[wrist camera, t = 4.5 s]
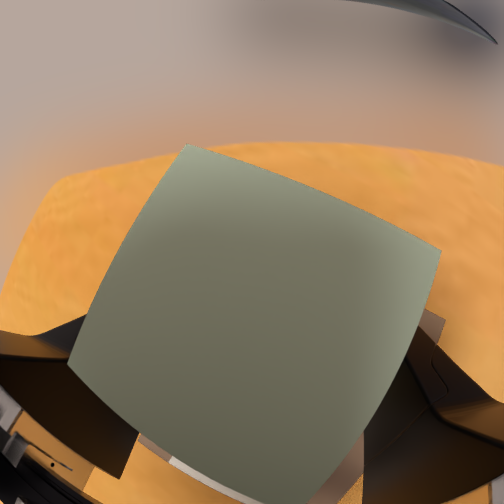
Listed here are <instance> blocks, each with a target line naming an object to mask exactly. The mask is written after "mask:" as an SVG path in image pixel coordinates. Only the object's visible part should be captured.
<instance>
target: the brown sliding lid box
mask: <svg viewBox="0 0 504 504" xmlns="http://www.w3.org/2000/svg"><path fill="white" fill-rule="evenodd" d="M445 321H446V320H445V319H443V318H441V317H439V316H437V315H435V314H434V313H432V312H430V311H428V310H426V309H424V310H423V313H422V316H421V318H420V321H419V324H418V325H419V326H420V327H421V328H422V329H423V330H424V331H425V332H426V333H427V334H428V335H429V337H430V338H431V339H432V340H433V341H434V342H435V343H436V345H437V343H438V340H439V338H440V335H441V332H442V330H443V327H444V324H445ZM138 441H139V442H140V443H141V444H143V445H144V446H145V447H147V448H148V449H149V450H151V451H152V452H154V453H155V454H156V455H158V456H159V457H161V458H162V459H164V460H165V461H167V462H168V463H170V464H171V465H173V466H174V467H176V468H177V469H179V470H181V471H182V472H184V473H186V474H187V475H189V476H191V477H192V478H194V479H196V480H198V481H199V482H201V483H203V484H205V485H207V486H209V487H211V488H212V489H214V490H216V491H218V492H220V493H222V494H224V495H226V496H229V497H231V498H233V499H235V500H237V501H240V502H242V503H244V504H264V503H261V502H259V501H256V500H254V499H252V498H249V497H247V496H245V495H242V494H240V493H238V492H236V491H234V490H232V489H230V488H228V487H225V486H223V485H222V484H220V483H218V482H216V481H214V480H212V479H210V478H208V477H206V476H205V475H203V474H201V473H199V472H198V471H196V470H194V469H192V468H191V467H189V466H187V465H186V464H184V463H183V462H181V461H179V460H178V459H176V458H175V457H173V456H172V455H170V454H169V453H167V452H166V451H164V450H163V449H161V448H160V447H159V446H157V445H156V444H154V443H153V442H152V441H150V440H149V439H148V438H146V437H145V436H144V435H142V434H141V435H140V437H139V439H138ZM363 472H364V431H363V432H362V434H361V435H360V437H359V438H358V440H357V441H356V443H355V444H354V446H353V447H352V448H351V450H350V451H349V452H348V454H347V455H346V457H345V458H344V459H343V461H342V462H341V463H340V464H339V466H338V467H337V468H336V470H335V471H334V472H333V473H332V475H331V476H330V477H329V478H328V479H327V481H326V482H325V483H324V484H323V485H322V486H321V488H320V489H319V490H318V491H317V492H316V493H315V494H314V495H313V497H312V498H311V499H310V500H309V501H308V502H307V503H306V504H337V502H338V501H339V500H340V499H341V498H342V497H343V496H344V495H345V494H346V493H347V491H348V490H349V489H350V488H351V487H352V486H353V485H354V483H355V482H356V481H357V480H358V479H359V477H360V476H361V475H362V474H363Z"/></svg>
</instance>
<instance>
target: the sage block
mask: <svg viewBox="0 0 504 504" xmlns="http://www.w3.org/2000/svg"><path fill="white" fill-rule="evenodd" d="M440 255H441V250H439V249H437V248H436V247H434V246H432V245H430V244H429V243H427V242H425V241H423V240H421V239H419V238H418V237H416V236H414V235H412V234H410V233H408V232H406V231H404V230H402V229H400V228H398V227H397V226H395V225H393V224H391V223H389V222H387V221H385V220H383V219H381V218H378V217H376V216H374V215H372V214H370V213H368V212H366V211H364V210H362V209H360V208H357V207H355V206H353V205H351V204H349V203H346V202H344V201H342V200H340V199H337V198H335V197H333V196H331V195H328V194H326V193H324V192H321V191H319V190H316V189H314V188H312V187H309V186H307V185H304V184H302V183H299V182H297V181H294V180H292V179H289V178H287V177H284V176H281V175H279V174H276V173H273V172H271V171H268V170H265V169H263V168H260V167H257V166H254V165H251V164H249V163H246V162H243V161H240V160H237V159H234V158H231V157H228V156H225V155H222V154H219V153H216V152H212V151H209V150H206V149H203V148H199V147H196V146H193V145H189V144H186V146H185V147H184V148H183V149H182V151H181V152H180V153H179V155H178V156H177V158H176V159H175V160H174V162H173V163H172V165H171V166H170V167H169V169H168V170H167V172H166V173H165V175H164V176H163V178H162V179H161V181H160V182H159V184H158V185H157V187H156V188H155V190H154V191H153V193H152V194H151V196H150V197H149V199H148V201H147V202H146V204H145V205H144V207H143V208H142V210H141V212H140V213H139V215H138V217H137V218H136V220H135V222H134V223H133V225H132V227H131V228H130V230H129V232H128V234H127V235H126V237H125V239H124V241H123V242H122V244H121V246H120V248H119V250H118V252H117V253H116V255H115V257H114V259H113V261H112V263H111V265H110V267H109V269H108V271H107V273H106V275H105V277H104V279H103V281H102V283H101V285H100V287H99V289H98V291H97V293H96V295H95V297H94V299H93V302H92V304H91V306H90V308H89V310H88V313H87V315H86V317H85V320H84V322H83V324H82V327H81V329H80V332H79V334H78V337H77V339H76V342H75V344H74V347H73V350H72V352H71V355H70V358H69V360H68V363H67V364H68V366H69V367H70V368H71V369H72V370H73V371H74V372H75V373H76V374H77V375H78V377H79V378H80V379H81V380H82V381H83V382H84V383H85V384H86V385H87V386H88V387H89V388H90V389H91V390H92V391H93V392H94V393H95V394H96V395H97V396H98V397H99V398H100V399H101V400H102V401H103V402H105V403H106V404H107V405H108V406H109V407H110V408H111V409H112V410H113V411H114V412H116V413H117V414H118V415H119V416H120V417H121V418H123V419H124V420H125V421H126V422H127V423H129V424H130V425H131V426H132V427H133V428H135V429H136V430H137V431H138V432H140V433H141V434H142V435H144V436H145V437H146V438H148V439H149V440H150V441H152V442H153V443H154V444H156V445H157V446H159V447H160V448H161V449H163V450H164V451H166V452H167V453H169V454H170V455H172V456H173V457H175V458H176V459H178V460H179V461H181V462H183V463H184V464H186V465H187V466H189V467H191V468H192V469H194V470H196V471H198V472H199V473H201V474H203V475H205V476H206V477H208V478H210V479H212V480H214V481H216V482H218V483H220V484H222V485H223V486H225V487H228V488H230V489H232V490H234V491H236V492H238V493H240V494H242V495H245V496H247V497H249V498H252V499H254V500H256V501H259V502H261V503H264V504H306V503H307V502H308V501H309V500H310V499H311V498H312V497H313V495H314V494H315V493H316V492H317V491H318V490H319V489H320V488H321V486H322V485H323V484H324V483H325V482H326V481H327V479H328V478H329V477H330V476H331V475H332V473H333V472H334V471H335V470H336V468H337V467H338V466H339V464H340V463H341V462H342V461H343V459H344V458H345V457H346V455H347V454H348V452H349V451H350V450H351V448H352V447H353V446H354V444H355V443H356V441H357V440H358V438H359V437H360V435H361V434H362V432H363V431H364V429H365V428H366V426H367V425H368V423H369V421H370V420H371V418H372V417H373V415H374V413H375V412H376V410H377V408H378V407H379V405H380V403H381V401H382V400H383V398H384V396H385V394H386V392H387V391H388V389H389V387H390V385H391V383H392V381H393V379H394V377H395V375H396V373H397V371H398V369H399V367H400V365H401V363H402V361H403V359H404V357H405V354H406V352H407V350H408V348H409V345H410V343H411V341H412V338H413V336H414V334H415V331H416V329H417V326H418V324H419V321H420V318H421V316H422V313H423V310H424V307H425V305H426V302H427V299H428V296H429V293H430V290H431V287H432V283H433V280H434V277H435V273H436V270H437V266H438V263H439V259H440Z"/></svg>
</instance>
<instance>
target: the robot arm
mask: <svg viewBox="0 0 504 504" xmlns="http://www.w3.org/2000/svg"><path fill="white" fill-rule="evenodd" d="M86 315H87V314H86ZM86 315H84V316H81V317H79V318H77V319H75V320H72V321H70V322H68V323H66V324H63V325H61V326H59V327H56V328H54V329H52V330H49V331H47V332H45V333H42V334H39V335H33V336H25V335H20V334H15V333H10V332H6V331H1V330H0V500H1V501H2V502H3V503H4V504H102V503H101V502H99V501H97V500H96V499H94V498H92V497H91V496H89V495H87V494H86V493H84V492H83V489H84V487H85V485H86V483H87V481H88V479H89V477H90V475H91V473H92V471H93V469H94V467H96V468H98V469H100V470H102V471H104V472H105V473H107V474H109V475H111V476H113V477H115V478H117V479H120V477H121V475H122V473H123V470H124V468H125V466H126V463H127V461H128V458H129V456H130V453H131V451H132V449H133V446H134V444H135V441H136V439H137V437H138V434H139V432H138V431H137V430H136V429H135V428H133V427H132V426H131V425H130V424H129V423H127V422H126V421H125V420H124V419H123V418H121V417H120V416H119V415H118V414H117V413H116V412H114V411H113V410H112V409H111V408H110V407H109V406H108V405H107V404H106V403H105V402H103V401H102V400H101V399H100V398H99V397H98V396H97V395H96V394H95V393H94V392H93V391H92V390H91V389H90V388H89V387H88V386H87V385H86V384H85V383H84V382H83V381H82V380H81V379H80V378H79V377H78V375H77V374H76V373H75V372H74V371H73V370H72V369H71V368H70V367H69V366H68V364H67V363H68V360H69V358H70V355H71V352H72V350H73V347H74V344H75V342H76V339H77V337H78V334H79V332H80V329H81V327H82V324H83V322H84V320H85V317H86ZM362 504H504V403H501V402H499V401H497V400H495V399H493V398H492V397H491V396H489V395H488V394H487V393H486V392H485V391H484V390H483V389H482V388H481V387H480V386H479V385H478V384H477V383H476V382H475V381H474V380H472V379H471V378H470V377H469V376H468V375H467V374H466V373H465V372H464V371H463V370H462V369H461V368H460V367H459V366H458V365H457V364H456V363H455V362H454V361H453V360H452V359H451V358H450V357H449V356H448V355H447V354H446V353H445V352H444V351H443V350H442V349H441V348H440V347H439V346H438V345H436V343H435V342H434V341H433V340H432V339H431V338H430V337H429V335H428V334H427V333H426V332H425V331H424V330H423V329H422V328H421V327H420V326H419V325H418V326H417V329H416V331H415V334H414V336H413V338H412V341H411V343H410V345H409V348H408V350H407V352H406V354H405V357H404V359H403V361H402V363H401V365H400V367H399V369H398V371H397V373H396V375H395V377H394V379H393V381H392V383H391V385H390V387H389V389H388V391H387V392H386V394H385V396H384V398H383V400H382V401H381V403H380V405H379V407H378V408H377V410H376V412H375V413H374V415H373V417H372V418H371V420H370V421H369V423H368V425H367V426H366V428H365V429H364V472H363V496H362Z"/></svg>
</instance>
